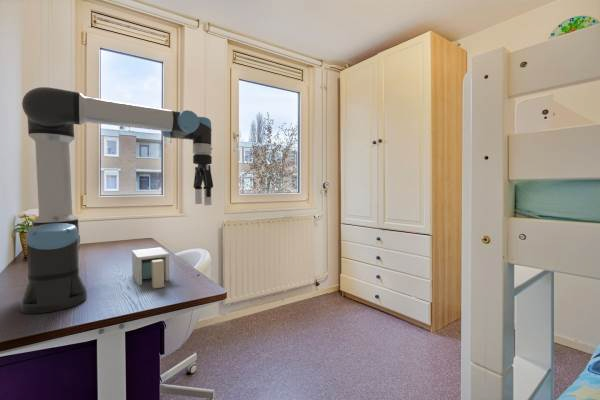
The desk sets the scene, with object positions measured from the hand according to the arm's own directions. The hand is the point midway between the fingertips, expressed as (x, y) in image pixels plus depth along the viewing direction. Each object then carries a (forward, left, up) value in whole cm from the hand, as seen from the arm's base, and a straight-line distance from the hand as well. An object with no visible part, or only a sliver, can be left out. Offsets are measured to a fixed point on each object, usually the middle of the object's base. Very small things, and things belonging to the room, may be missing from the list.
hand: (202, 204), depth 126 cm
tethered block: (-21, -8, -27) cm, 35 cm away
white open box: (-21, -3, -27) cm, 35 cm away
